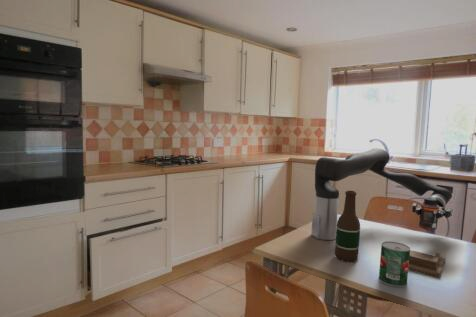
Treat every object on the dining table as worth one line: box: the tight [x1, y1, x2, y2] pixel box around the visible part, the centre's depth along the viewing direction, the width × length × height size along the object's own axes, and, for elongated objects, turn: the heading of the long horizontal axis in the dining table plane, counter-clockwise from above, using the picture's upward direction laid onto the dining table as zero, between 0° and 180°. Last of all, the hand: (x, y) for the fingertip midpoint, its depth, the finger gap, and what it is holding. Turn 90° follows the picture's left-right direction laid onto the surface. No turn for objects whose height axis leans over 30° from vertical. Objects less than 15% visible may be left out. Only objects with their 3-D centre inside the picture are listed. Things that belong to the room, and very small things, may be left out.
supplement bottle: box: [418, 197, 439, 231], centre depth 125 cm, size 6×6×11 cm
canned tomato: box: [378, 241, 411, 288], centre depth 100 cm, size 8×8×11 cm
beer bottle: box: [334, 190, 361, 263], centre depth 116 cm, size 8×8×24 cm
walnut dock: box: [408, 249, 446, 279], centre depth 114 cm, size 16×14×4 cm
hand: (428, 214), depth 123 cm, fingers closed on supplement bottle, 6 cm apart
